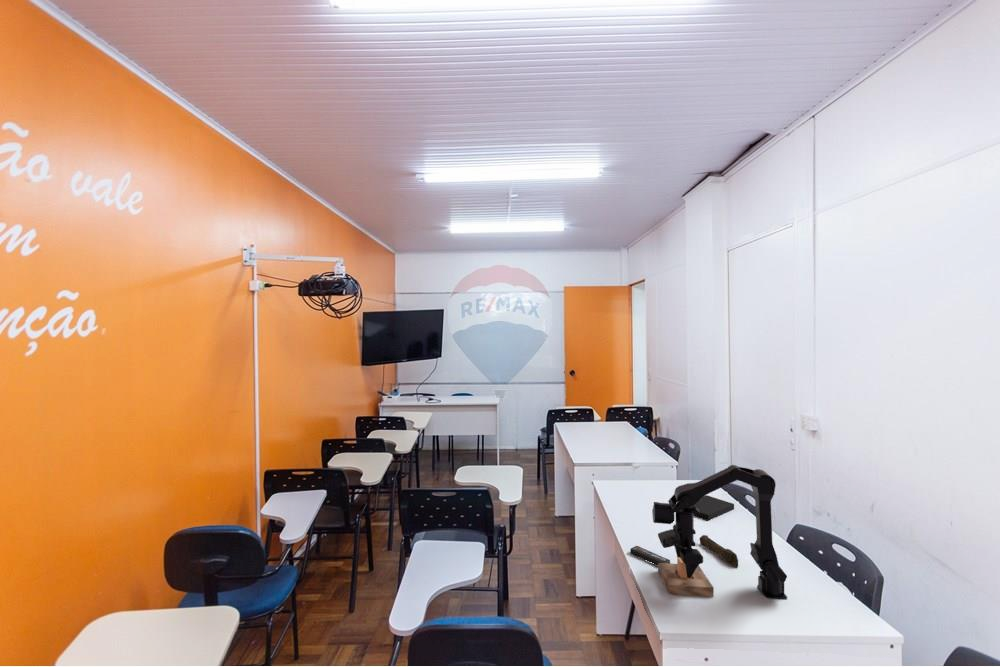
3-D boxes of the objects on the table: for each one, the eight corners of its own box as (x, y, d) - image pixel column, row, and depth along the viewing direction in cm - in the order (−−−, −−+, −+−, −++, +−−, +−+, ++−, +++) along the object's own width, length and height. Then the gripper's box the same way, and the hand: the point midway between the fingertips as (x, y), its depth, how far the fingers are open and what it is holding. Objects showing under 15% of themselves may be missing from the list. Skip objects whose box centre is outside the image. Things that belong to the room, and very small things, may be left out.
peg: (688, 580, 153) (688, 557, 153) (691, 586, 149) (691, 563, 149) (677, 580, 153) (677, 557, 153) (680, 586, 150) (680, 562, 150)
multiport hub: (664, 570, 160) (664, 564, 160) (630, 554, 172) (630, 548, 172) (670, 566, 163) (670, 560, 163) (636, 551, 174) (636, 545, 174)
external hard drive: (679, 511, 213) (679, 505, 213) (706, 500, 226) (706, 495, 226) (708, 521, 201) (708, 515, 201) (734, 510, 215) (734, 503, 215)
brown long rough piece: (698, 544, 179) (698, 533, 179) (707, 543, 180) (707, 532, 180) (730, 569, 161) (730, 557, 161) (740, 568, 161) (740, 555, 161)
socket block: (698, 573, 158) (698, 564, 158) (713, 596, 144) (713, 587, 144) (658, 571, 159) (658, 562, 159) (669, 594, 145) (669, 585, 145)
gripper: (653, 512, 161) (653, 555, 161) (668, 536, 143) (668, 584, 143) (684, 513, 160) (685, 556, 160) (703, 537, 142) (703, 586, 142)
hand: (684, 570), depth 151 cm, fingers open, 9 cm apart
